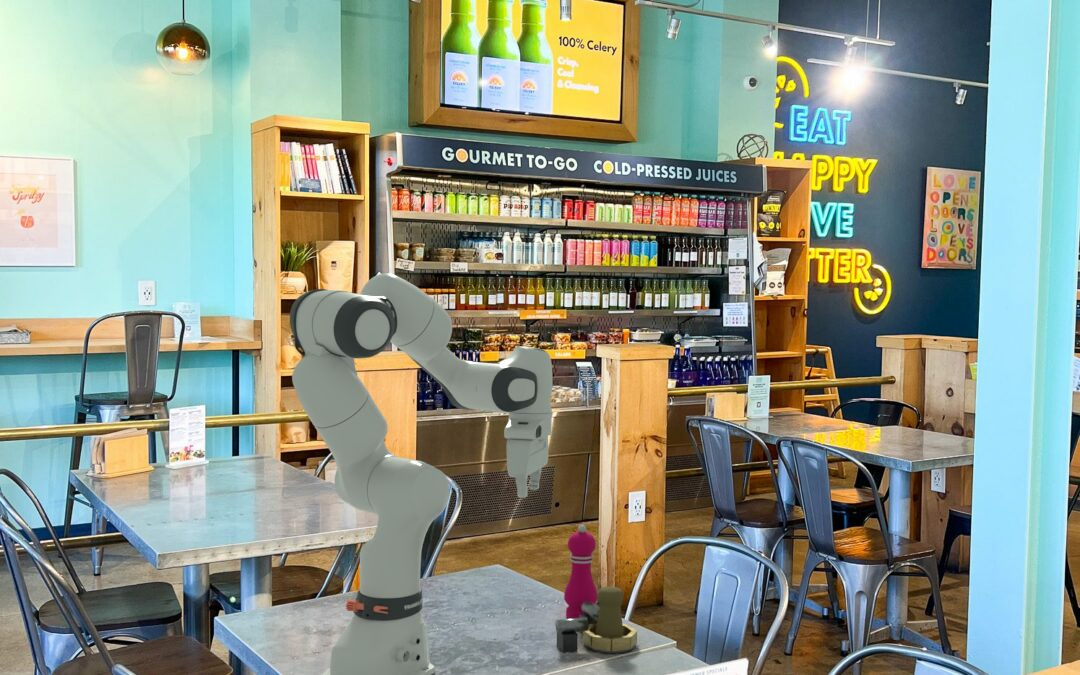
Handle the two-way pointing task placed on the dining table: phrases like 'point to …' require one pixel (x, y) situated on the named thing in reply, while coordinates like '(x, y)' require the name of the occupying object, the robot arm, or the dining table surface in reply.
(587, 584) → the pepper mill
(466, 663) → the dining table surface
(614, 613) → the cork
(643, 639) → the dining table surface
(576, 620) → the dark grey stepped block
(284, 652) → the dining table surface
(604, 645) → the coupling collar
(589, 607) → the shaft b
